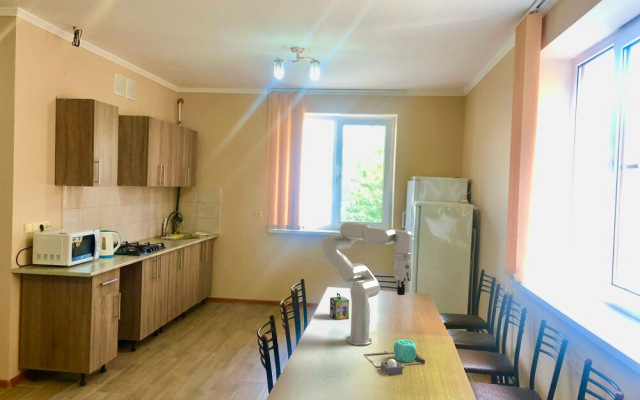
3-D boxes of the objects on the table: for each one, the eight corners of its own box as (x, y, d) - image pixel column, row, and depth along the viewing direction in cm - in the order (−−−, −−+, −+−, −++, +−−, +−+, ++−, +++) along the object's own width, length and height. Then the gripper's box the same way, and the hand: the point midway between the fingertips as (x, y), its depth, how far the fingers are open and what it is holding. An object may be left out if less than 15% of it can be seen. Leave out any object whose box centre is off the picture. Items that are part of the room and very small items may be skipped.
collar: (380, 368, 196) (381, 361, 196) (395, 367, 198) (395, 360, 198) (387, 375, 190) (387, 368, 190) (402, 373, 192) (402, 366, 192)
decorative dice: (393, 356, 211) (393, 339, 211) (408, 355, 213) (409, 338, 213) (400, 363, 203) (401, 345, 203) (416, 361, 205) (417, 344, 205)
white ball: (385, 367, 195) (385, 357, 195) (393, 366, 197) (394, 356, 196) (389, 371, 191) (389, 361, 191) (398, 370, 193) (398, 360, 192)
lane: (362, 353, 213) (362, 349, 213) (406, 349, 220) (407, 346, 220) (379, 370, 194) (379, 366, 194) (427, 365, 201) (427, 362, 201)
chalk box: (349, 319, 266) (350, 294, 266) (335, 320, 263) (336, 295, 262) (342, 314, 275) (343, 290, 274) (329, 315, 272) (329, 291, 271)
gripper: (417, 259, 205) (415, 298, 206) (402, 253, 220) (400, 290, 220) (402, 259, 203) (400, 299, 204) (388, 254, 217) (386, 291, 218)
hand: (400, 294), depth 212 cm, fingers closed
